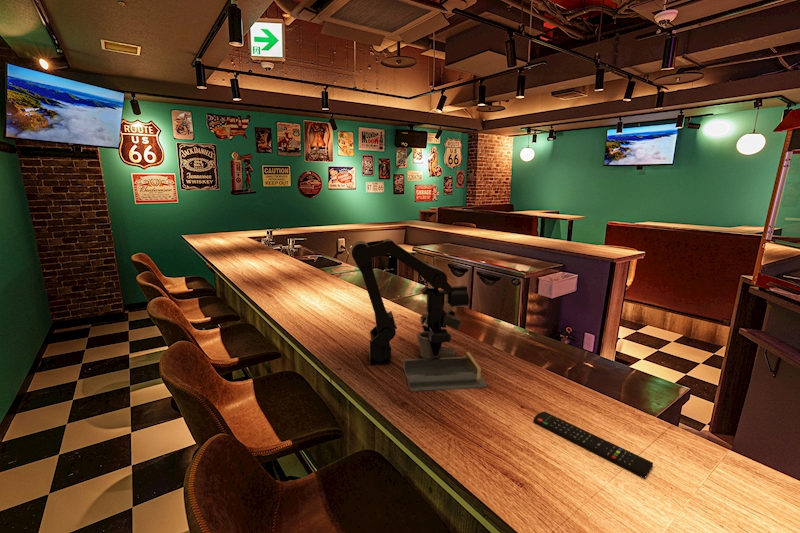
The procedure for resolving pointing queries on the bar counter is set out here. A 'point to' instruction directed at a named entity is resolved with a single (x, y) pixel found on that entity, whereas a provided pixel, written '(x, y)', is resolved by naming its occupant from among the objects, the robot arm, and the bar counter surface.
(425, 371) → the pipe cradle
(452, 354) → the pipe
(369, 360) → the robot arm
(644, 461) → the remote control
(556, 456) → the bar counter surface
